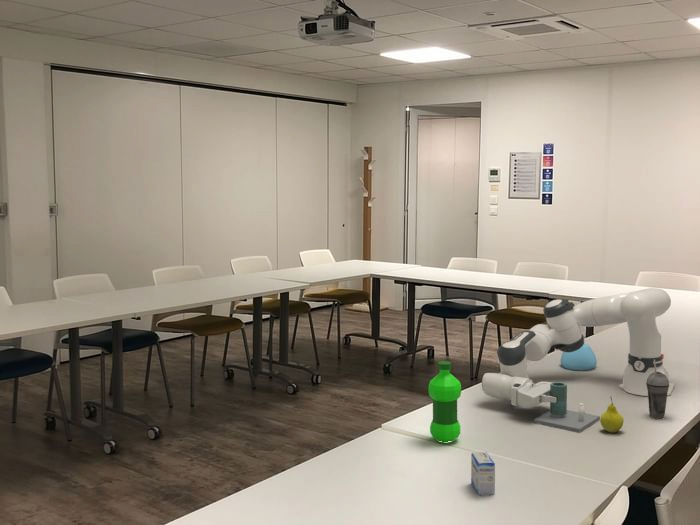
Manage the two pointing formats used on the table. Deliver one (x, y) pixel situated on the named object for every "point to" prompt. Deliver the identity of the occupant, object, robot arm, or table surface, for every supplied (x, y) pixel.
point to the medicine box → (483, 473)
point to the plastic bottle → (445, 404)
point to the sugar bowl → (579, 359)
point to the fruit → (611, 419)
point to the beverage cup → (657, 393)
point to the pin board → (568, 420)
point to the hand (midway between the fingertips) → (561, 397)
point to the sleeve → (560, 392)
